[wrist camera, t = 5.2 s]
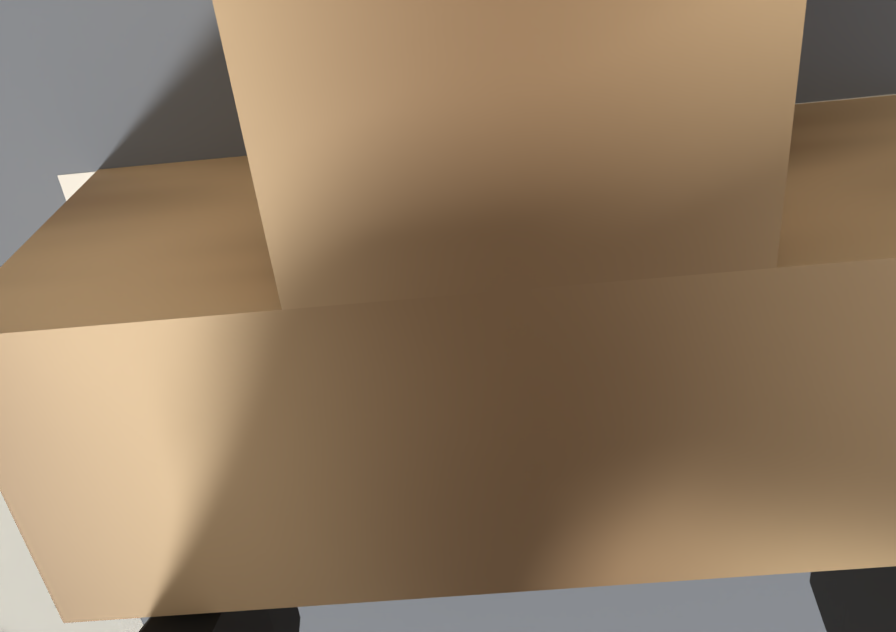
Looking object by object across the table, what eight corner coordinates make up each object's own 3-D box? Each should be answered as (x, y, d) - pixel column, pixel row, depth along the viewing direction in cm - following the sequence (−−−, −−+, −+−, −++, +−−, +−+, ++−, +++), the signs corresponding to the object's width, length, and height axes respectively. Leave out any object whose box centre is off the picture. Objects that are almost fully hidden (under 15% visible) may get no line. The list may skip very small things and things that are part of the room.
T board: (1254, -555, 8) (1304, -579, 7) (868, 840, 19) (878, 864, 19) (-232, -359, 8) (-271, -370, 8) (260, 874, 20) (256, 898, 19)
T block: (1023, -464, 8) (1507, -703, 4) (872, 341, 12) (1048, 556, 8) (-63, -330, 8) (-448, -446, 5) (171, 397, 12) (63, 622, 9)
